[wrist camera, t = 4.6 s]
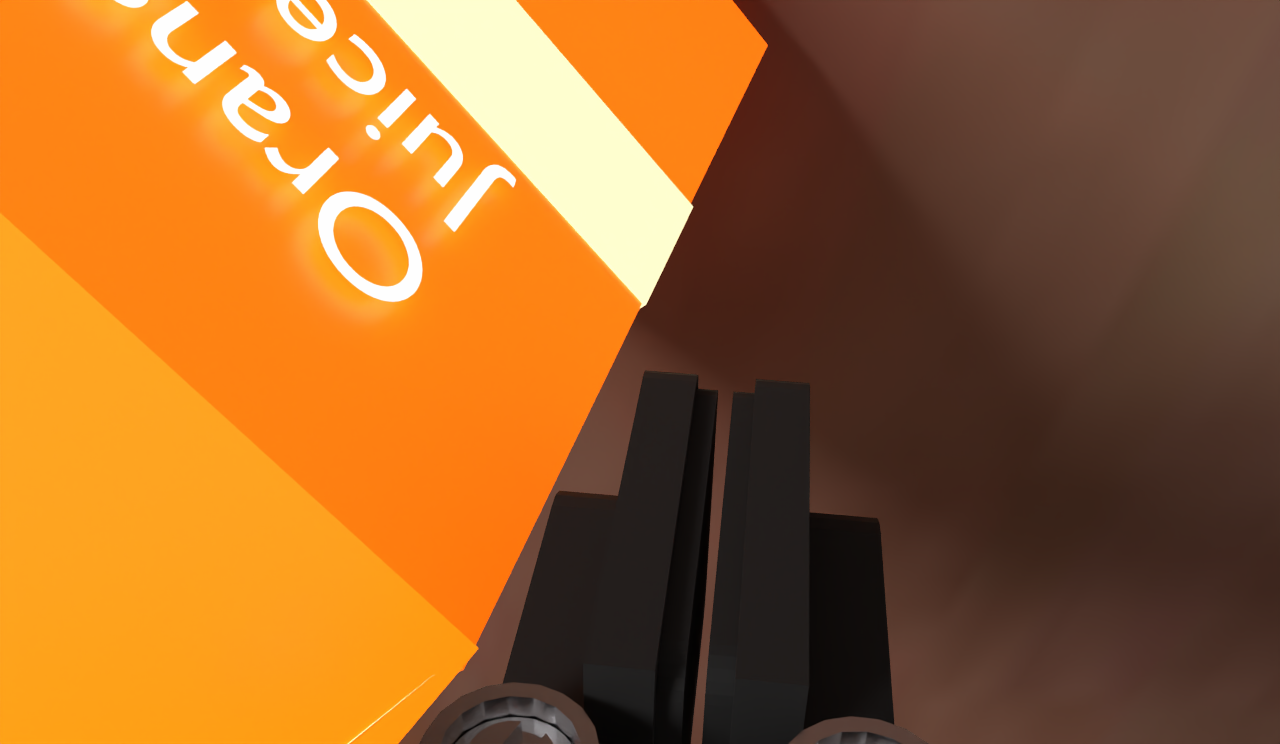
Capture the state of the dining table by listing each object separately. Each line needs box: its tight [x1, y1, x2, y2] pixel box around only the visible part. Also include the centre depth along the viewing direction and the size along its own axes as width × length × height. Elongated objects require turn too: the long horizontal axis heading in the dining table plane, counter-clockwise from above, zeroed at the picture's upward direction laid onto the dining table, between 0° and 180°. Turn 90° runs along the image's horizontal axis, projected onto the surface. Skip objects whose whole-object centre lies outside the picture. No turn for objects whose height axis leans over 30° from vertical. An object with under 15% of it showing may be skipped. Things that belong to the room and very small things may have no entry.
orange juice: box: [0, 0, 768, 744], centre depth 15 cm, size 8×9×20 cm
